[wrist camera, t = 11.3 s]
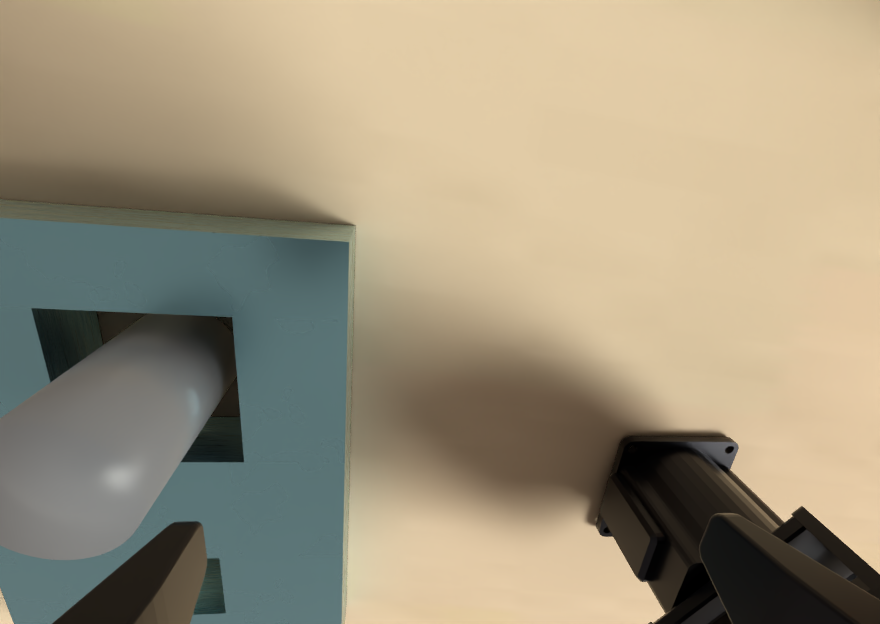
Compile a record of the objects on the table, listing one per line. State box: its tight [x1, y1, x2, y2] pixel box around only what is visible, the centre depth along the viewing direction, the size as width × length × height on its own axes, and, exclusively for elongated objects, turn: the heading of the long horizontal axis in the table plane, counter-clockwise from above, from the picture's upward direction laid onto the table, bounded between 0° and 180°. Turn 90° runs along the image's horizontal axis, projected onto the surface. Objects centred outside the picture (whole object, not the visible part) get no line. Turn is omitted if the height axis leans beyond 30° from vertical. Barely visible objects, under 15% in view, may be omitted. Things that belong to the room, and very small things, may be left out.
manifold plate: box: [0, 199, 356, 624], centre depth 19 cm, size 14×22×3 cm, turn 175°
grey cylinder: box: [0, 313, 237, 560], centre depth 15 cm, size 4×4×8 cm
